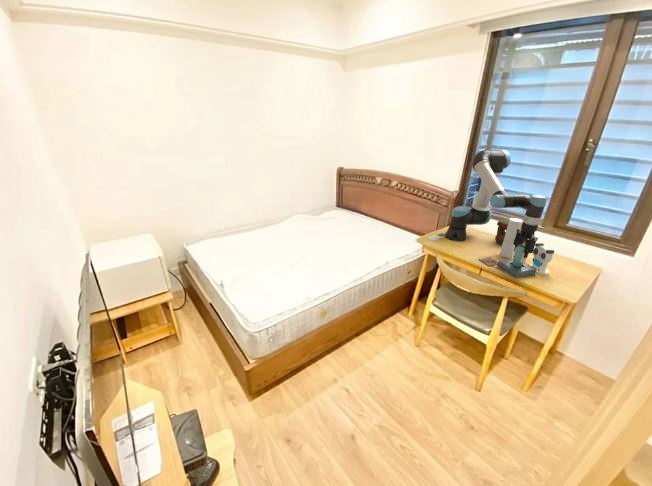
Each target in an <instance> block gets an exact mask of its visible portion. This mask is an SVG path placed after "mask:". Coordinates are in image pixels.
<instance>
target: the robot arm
mask: <svg viewBox="0 0 652 486" xmlns="http://www.w3.org/2000/svg"><path fill="white" fill-rule="evenodd" d="M511 158H512V157H511V154H510V152H509V151H508V150H506V149H482V150H480V151H478V152H476V154H474V156H473V157H472V160H471V167H472V170H473V172H475V173H477V174H478V176H479V178H480V179H481V184H480V187H479V191H478V193H477V197H476V200H475V202H474V204H472V206H471V208H470V207H468V206H464V205H462V206H456V207H454V208H453V209H452V211H451V213H450V214H451V216H450V221H449V227H448V228H447V230H446V231H445V233H444V237H445V239H447V240H450V241H453V242H465V241H466V240H467V238H468V235H467V226H469V225H470V226H473V225H476V226H477V225H478V226H480V225H481V226H482V225H486V224H488V223H489V222H490V220H491V218H492V212H491V208H494V209H495V208H496V209H515V208H516V209H519V208H520V209H523V210H525V213H524V217H523V219H522V220H523V222H522V226H521V228H522V229H517V233H516V236H515V239H514V242H513V244H514V245H515V250H514V252H513V255H512V259H514V256H515V253H516V250H517V246H518V245H519V244H522V242H523V241H524V239H525V251H524V252H523V253H522V256H521V260H520V262H525V263H526V260H527V258H528V257H529V254H533V250H534V249H535V248H536V247H535V244H536V243H537V241H538V240H539V237H536V236H535V233H536V231H538V228H539V224H540V221H541V218H542V216H543V212H544V209H545V207H546V205H547V200H548V199H547V197H546V196H544V195H541V194H531V195H528V194H526V193H523V192H517V193H515V194H508V193H507V192H506V190H505V188H504V187H503V185H502V184H501V182H500V181H499V175H500V174H503V172H504V169H507V168H508V167H509V166H510V164H511ZM489 205H490V206H491V208H490V207H489Z"/></svg>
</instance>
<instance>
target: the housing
mask: <svg viewBox="0 0 652 486" xmlns="http://www.w3.org/2000/svg"><path fill="white" fill-rule="evenodd" d="M513 259H514V258H508V259H503V260H498V261H497V262H498V265H496V267H497V268H499V269H500V270H502V271H503V272H505V273H506V274H509V275H510V276H511V277H513V278H515V279H519V278H524V277H530V276H535V275H536V274H537V273H536V270H537V269H536V268H534V267H533V266H531V265H529V263H526V261H525V262H523V265H522V267H520V268H517V267H515V266H513V265H512V262H513Z"/></svg>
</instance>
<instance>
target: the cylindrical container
mask: <svg viewBox="0 0 652 486" xmlns="http://www.w3.org/2000/svg"><path fill="white" fill-rule="evenodd" d="M508 220H509V223H508V227H507V230H505V232H506V234H505V237H504V241H503V244H502V245H501V247H500V248H501V249H500V252H499V255H500V256H501V257H503V258H508V259H512V258H513V255H514V249H515V245H514V244H513V242H514V239H515V236H516V233H517V229H521V226H522V223H523V222H524V221H523V220H524V219H520V218H516V217H510V218H509V219H508Z"/></svg>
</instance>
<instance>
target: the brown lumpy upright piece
mask: <svg viewBox="0 0 652 486" xmlns="http://www.w3.org/2000/svg"><path fill="white" fill-rule="evenodd" d="M509 220H510V219H507V218H503V219H500V220H498V221H497V223H496V226H498V227H497V229H496V230H497V231H496V235H495V238H494V240H495V243H496V244H497V245H498V246H502V244H503V241H504V237H505V234H506V230H507V227H508V223H509ZM521 229H522V228H521ZM522 244H525V239H524V241H523V242H522ZM514 250H515V249H514Z"/></svg>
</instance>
